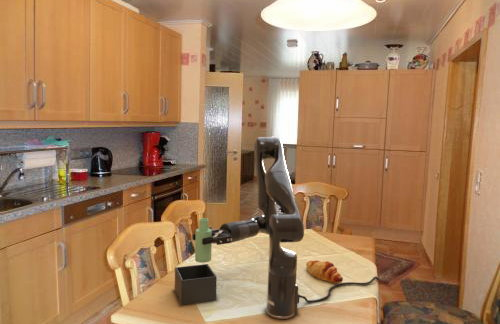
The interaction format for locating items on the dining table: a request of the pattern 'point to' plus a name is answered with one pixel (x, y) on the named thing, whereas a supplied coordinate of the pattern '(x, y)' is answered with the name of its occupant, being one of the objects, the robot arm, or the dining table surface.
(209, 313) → the dining table surface
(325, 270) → the croissant
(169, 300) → the dining table surface
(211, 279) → the bin
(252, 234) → the robot arm
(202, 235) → the bottle
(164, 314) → the dining table surface
